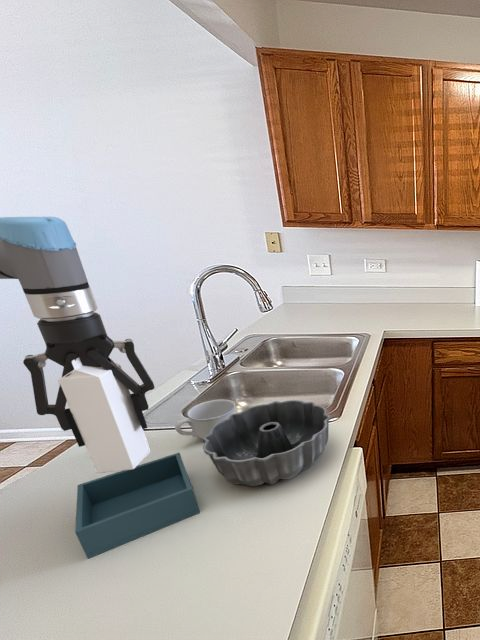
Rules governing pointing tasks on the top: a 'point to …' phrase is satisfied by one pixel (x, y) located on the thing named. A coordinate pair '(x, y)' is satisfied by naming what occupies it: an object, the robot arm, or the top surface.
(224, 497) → the top surface
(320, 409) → the bundt pan
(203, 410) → the teacup
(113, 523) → the tote
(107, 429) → the milk
